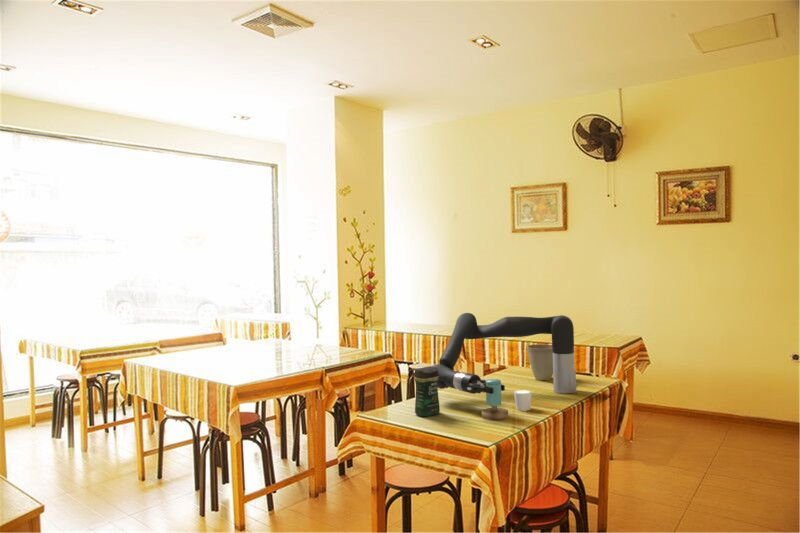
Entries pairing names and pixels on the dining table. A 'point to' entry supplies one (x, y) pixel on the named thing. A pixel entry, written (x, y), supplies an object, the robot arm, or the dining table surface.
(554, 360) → the robot arm
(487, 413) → the post
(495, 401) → the teal lidded canister
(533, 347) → the plant pot
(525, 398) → the white cup
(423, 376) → the coffee jar
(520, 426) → the dining table surface
